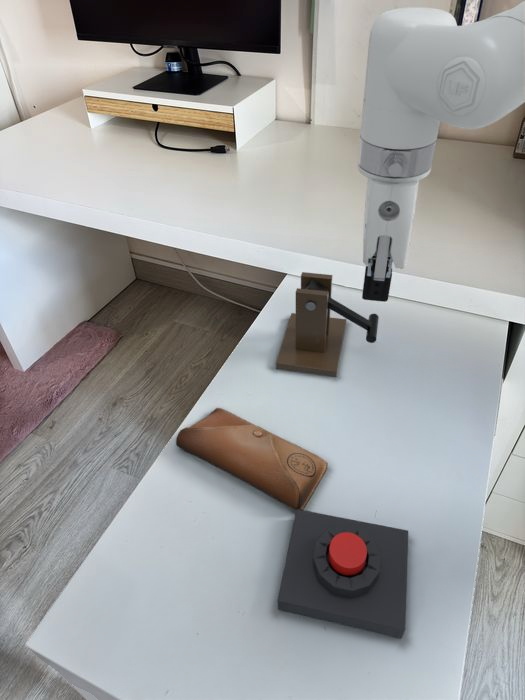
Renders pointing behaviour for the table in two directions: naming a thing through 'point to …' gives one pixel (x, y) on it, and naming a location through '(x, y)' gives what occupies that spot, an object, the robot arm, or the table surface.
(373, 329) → the lever
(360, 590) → the stop block
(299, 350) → the bracket
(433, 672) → the table surface
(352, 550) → the stop button
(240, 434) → the sunglasses case
